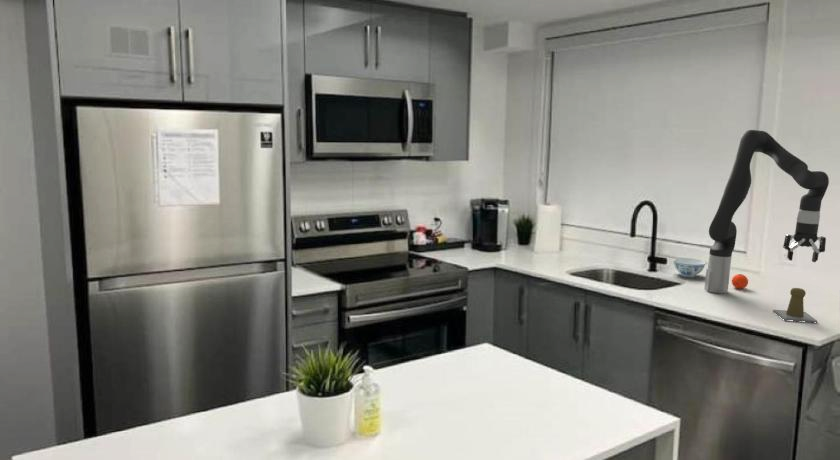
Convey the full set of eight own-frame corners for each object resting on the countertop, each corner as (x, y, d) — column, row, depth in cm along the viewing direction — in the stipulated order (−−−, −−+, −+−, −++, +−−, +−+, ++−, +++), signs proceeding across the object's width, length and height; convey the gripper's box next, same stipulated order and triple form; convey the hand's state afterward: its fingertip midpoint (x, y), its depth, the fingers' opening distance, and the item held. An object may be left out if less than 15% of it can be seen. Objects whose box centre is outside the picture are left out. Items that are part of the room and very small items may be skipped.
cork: (806, 317, 241) (810, 291, 239) (789, 316, 242) (793, 290, 240) (800, 313, 247) (803, 287, 244) (783, 311, 248) (787, 286, 246)
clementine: (733, 285, 292) (734, 271, 290) (749, 288, 287) (751, 273, 286) (729, 288, 286) (730, 274, 284) (745, 291, 281) (747, 276, 280)
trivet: (783, 321, 240) (783, 318, 240) (772, 311, 251) (773, 309, 251) (817, 323, 237) (817, 320, 237) (804, 314, 249) (805, 311, 249)
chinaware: (683, 270, 319) (684, 256, 317) (710, 277, 307) (711, 262, 305) (665, 274, 311) (667, 259, 309) (692, 281, 298) (694, 265, 297)
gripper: (791, 221, 238) (785, 261, 241) (831, 224, 235) (825, 264, 238) (784, 218, 246) (779, 257, 249) (824, 221, 242) (818, 260, 245)
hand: (802, 260), depth 243 cm, fingers open, 8 cm apart
